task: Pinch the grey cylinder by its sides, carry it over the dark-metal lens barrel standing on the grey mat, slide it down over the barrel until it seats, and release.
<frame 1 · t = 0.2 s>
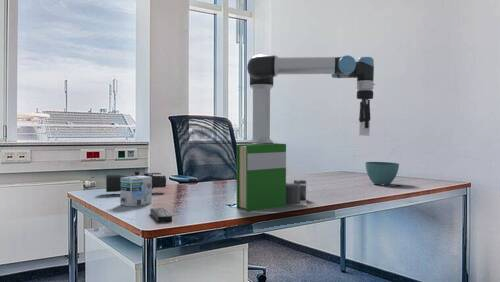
hand: (364, 135, 191), 28 cm above the table, tool pointing down, fingers open, 13 cm apart
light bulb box: (136, 204, 158), on the table
mat: (291, 202, 168), on the table
multiport hub: (160, 219, 134), on the table
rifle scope: (136, 193, 186), on the table
teal bowl: (381, 184, 231), on the table
lens barrel: (299, 199, 172), resting on mat
hardback book: (261, 207, 154), on the table, touching mat
grey cylinder: (288, 202, 164), resting on mat
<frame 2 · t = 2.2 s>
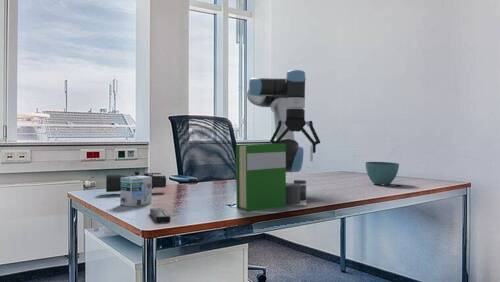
hand: (294, 160, 165), 17 cm above the table, tool pointing down, fingers open, 13 cm apart
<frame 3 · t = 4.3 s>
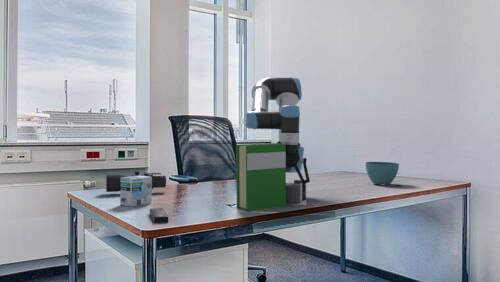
hand: (288, 199, 164), 2 cm above the table, tool pointing down, fingers closed on grey cylinder, 9 cm apart
grey cylinder: (288, 202, 164), resting on mat, touching gripper
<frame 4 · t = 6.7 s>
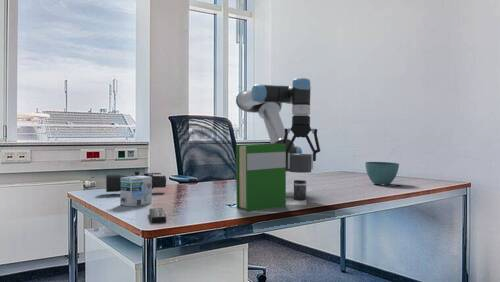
hand: (300, 168, 172), 14 cm above the table, tool pointing down, fingers closed on grey cylinder, 9 cm apart
grey cylinder: (300, 171, 172), point 12 cm above the table, touching gripper
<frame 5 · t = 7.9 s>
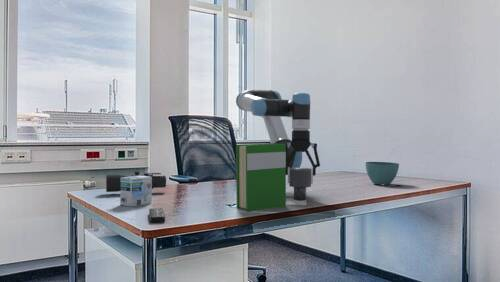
hand: (300, 183, 172), 7 cm above the table, tool pointing down, fingers closed on grey cylinder, 9 cm apart
grey cylinder: (300, 186, 172), point 6 cm above the table, touching gripper
when the fingers open (4 cm above the table, at t = 9.0 s): grey cylinder drops 1 cm, resting on lens barrel.
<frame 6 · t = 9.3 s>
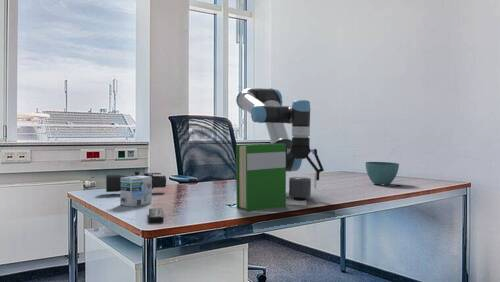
hand: (299, 187, 172), 5 cm above the table, tool pointing down, fingers open, 12 cm apart
grey cylinder: (299, 195, 172), point 2 cm above the table, touching lens barrel
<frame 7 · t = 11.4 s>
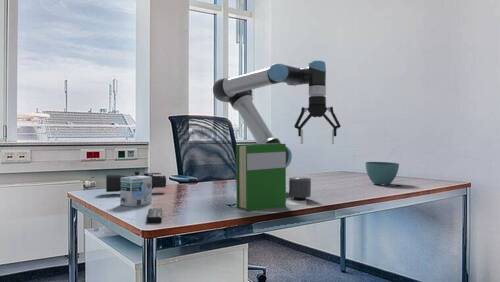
hand: (317, 144, 180), 24 cm above the table, tool pointing down, fingers open, 13 cm apart
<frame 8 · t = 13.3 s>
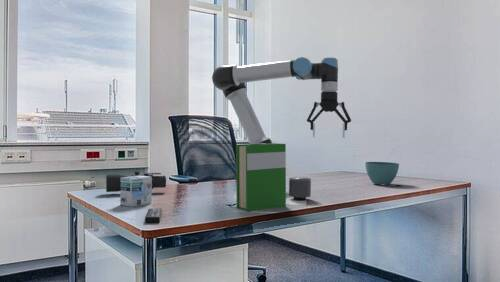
hand: (328, 137, 189), 27 cm above the table, tool pointing down, fingers open, 13 cm apart
at the end: grey cylinder 0.0 cm off-centre on the lens barrel, point 1.6 cm above the lens barrel's base; grey cylinder tilted 0°; the gripper is holding nothing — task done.
